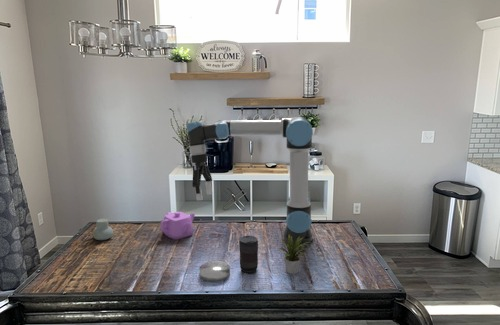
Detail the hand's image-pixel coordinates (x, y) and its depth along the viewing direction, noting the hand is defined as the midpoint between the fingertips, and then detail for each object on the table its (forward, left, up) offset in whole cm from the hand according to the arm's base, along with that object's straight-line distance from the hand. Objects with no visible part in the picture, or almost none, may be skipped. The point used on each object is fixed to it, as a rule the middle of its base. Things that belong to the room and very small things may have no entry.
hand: (204, 197), depth 183 cm
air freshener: (+57, -4, -27) cm, 63 cm away
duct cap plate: (-10, +26, -26) cm, 38 cm away
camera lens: (-24, +21, -26) cm, 42 cm away
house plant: (-43, +20, -26) cm, 55 cm away
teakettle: (+19, -15, -27) cm, 36 cm away
